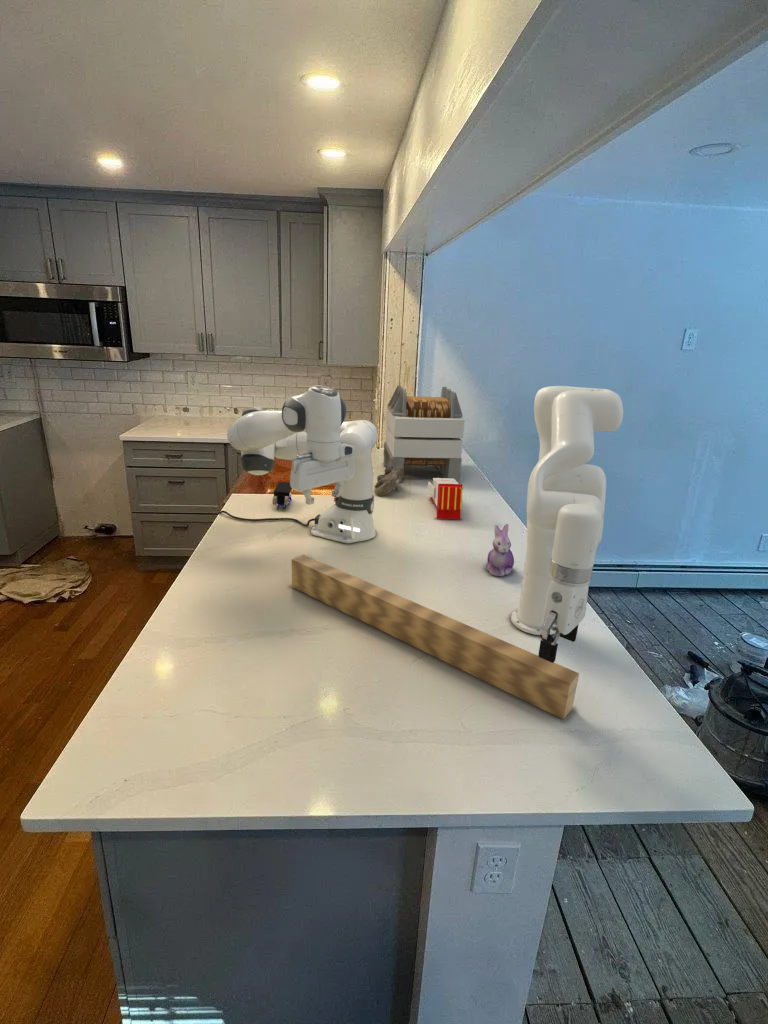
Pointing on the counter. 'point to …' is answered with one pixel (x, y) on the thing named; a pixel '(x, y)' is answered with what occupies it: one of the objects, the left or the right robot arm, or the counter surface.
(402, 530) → the counter surface
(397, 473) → the fossil
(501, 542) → the figurine
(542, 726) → the counter surface
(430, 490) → the toy
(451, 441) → the grey crate shelf
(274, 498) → the figurine character
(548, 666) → the post
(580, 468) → the right robot arm
